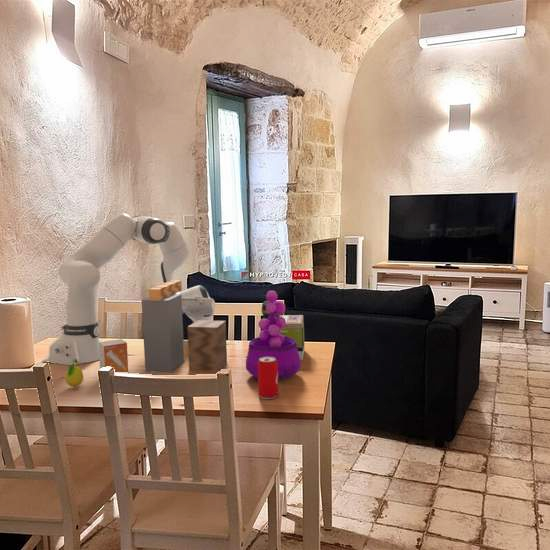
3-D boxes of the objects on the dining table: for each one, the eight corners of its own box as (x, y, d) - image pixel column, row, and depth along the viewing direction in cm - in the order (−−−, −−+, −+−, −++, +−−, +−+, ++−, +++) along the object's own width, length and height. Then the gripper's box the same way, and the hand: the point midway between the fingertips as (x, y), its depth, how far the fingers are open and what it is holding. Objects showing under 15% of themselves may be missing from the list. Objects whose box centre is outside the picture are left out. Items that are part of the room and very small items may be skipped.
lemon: (79, 383, 182) (77, 354, 180) (89, 386, 178) (87, 357, 177) (60, 388, 177) (58, 359, 175) (70, 392, 173) (68, 362, 172)
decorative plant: (264, 365, 197) (263, 284, 193) (310, 373, 188) (309, 288, 184) (235, 380, 181) (232, 292, 177) (283, 389, 172) (281, 296, 168)
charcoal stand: (159, 360, 206) (156, 293, 203) (184, 361, 204) (181, 294, 201) (145, 371, 193) (141, 300, 190) (171, 372, 192) (168, 300, 188)
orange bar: (172, 290, 210) (171, 280, 210) (181, 290, 210) (181, 280, 209) (148, 300, 189) (148, 289, 188) (159, 300, 188) (159, 289, 188)
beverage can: (281, 394, 167) (280, 356, 166) (274, 401, 161) (273, 362, 160) (262, 392, 169) (261, 355, 168) (255, 399, 164) (254, 360, 162)
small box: (105, 383, 181) (103, 346, 179) (100, 378, 186) (98, 342, 184) (129, 379, 185) (127, 342, 183) (123, 374, 190) (121, 338, 189)
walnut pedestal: (189, 370, 193) (187, 326, 191) (199, 361, 204) (197, 320, 202) (218, 371, 191) (217, 327, 189) (227, 362, 202) (225, 320, 200)
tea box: (280, 350, 218) (279, 314, 216) (304, 350, 217) (304, 314, 215) (276, 360, 203) (275, 322, 201) (303, 361, 202) (302, 322, 200)
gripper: (173, 301, 234) (161, 290, 222) (218, 302, 231) (209, 290, 218) (171, 315, 232) (159, 304, 219) (216, 316, 228) (207, 305, 216)
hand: (184, 297), depth 219 cm, fingers open, 8 cm apart
